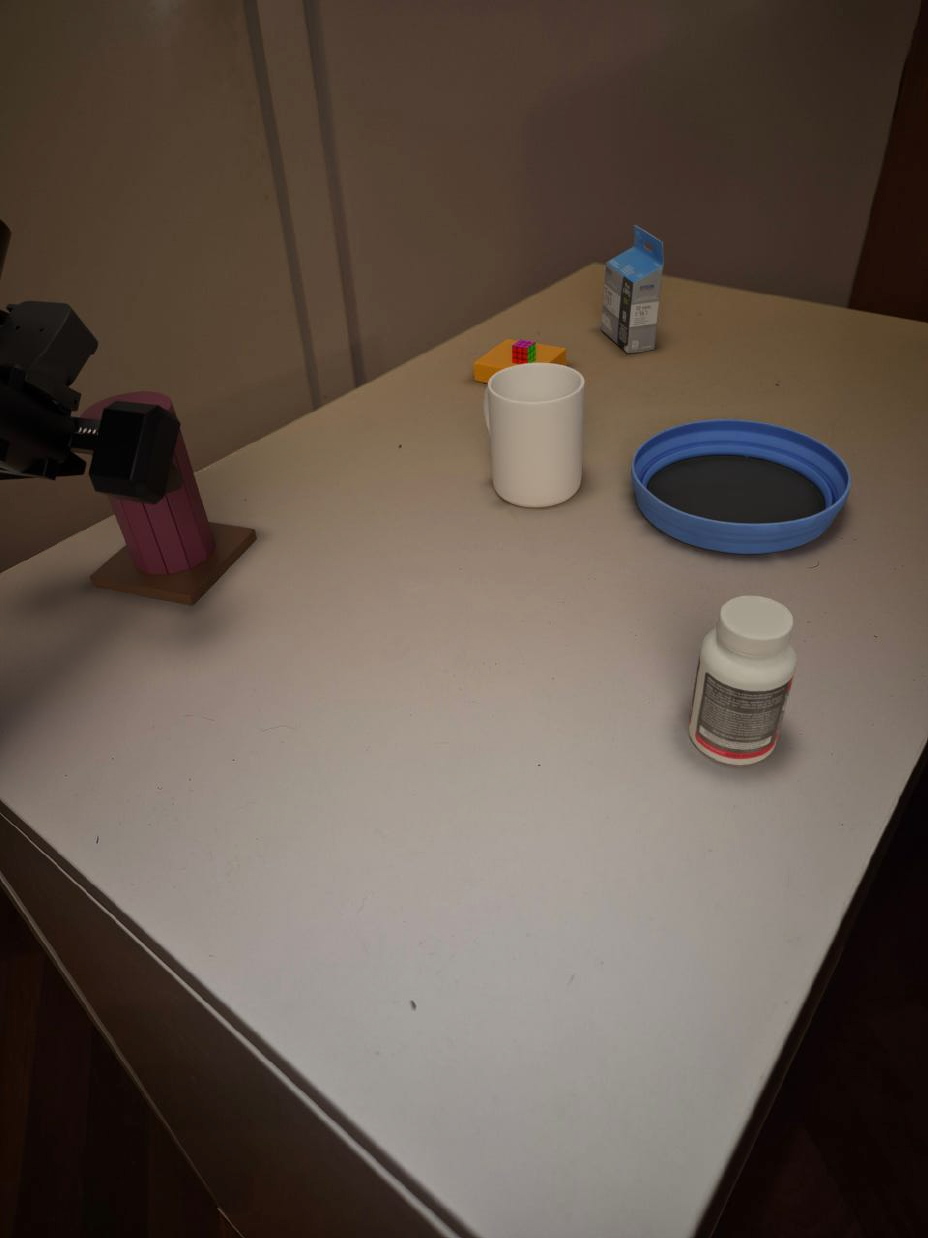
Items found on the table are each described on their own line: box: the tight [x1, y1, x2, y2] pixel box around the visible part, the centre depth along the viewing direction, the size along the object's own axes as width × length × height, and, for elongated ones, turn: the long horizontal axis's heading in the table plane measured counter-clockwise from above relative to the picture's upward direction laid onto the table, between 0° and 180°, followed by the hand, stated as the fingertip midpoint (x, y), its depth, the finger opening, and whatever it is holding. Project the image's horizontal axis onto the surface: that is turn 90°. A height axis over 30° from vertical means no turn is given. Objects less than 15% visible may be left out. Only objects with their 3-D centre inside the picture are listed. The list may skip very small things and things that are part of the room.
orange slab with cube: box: [472, 338, 567, 384], centre depth 96 cm, size 8×8×4 cm
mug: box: [482, 363, 586, 509], centre depth 76 cm, size 12×8×10 cm
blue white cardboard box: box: [600, 224, 665, 354], centre depth 100 cm, size 9×4×12 cm, turn 14°
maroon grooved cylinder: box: [79, 390, 216, 575], centre depth 67 cm, size 7×7×13 cm
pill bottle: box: [688, 594, 798, 766], centre depth 50 cm, size 5×5×10 cm
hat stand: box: [89, 521, 258, 606], centre depth 70 cm, size 10×10×6 cm
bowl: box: [630, 418, 852, 555], centre depth 72 cm, size 18×18×4 cm
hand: (131, 475), depth 65 cm, fingers open, 9 cm apart
